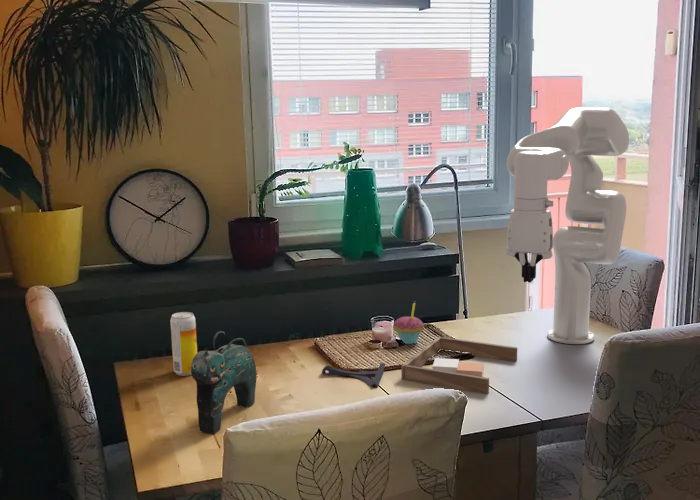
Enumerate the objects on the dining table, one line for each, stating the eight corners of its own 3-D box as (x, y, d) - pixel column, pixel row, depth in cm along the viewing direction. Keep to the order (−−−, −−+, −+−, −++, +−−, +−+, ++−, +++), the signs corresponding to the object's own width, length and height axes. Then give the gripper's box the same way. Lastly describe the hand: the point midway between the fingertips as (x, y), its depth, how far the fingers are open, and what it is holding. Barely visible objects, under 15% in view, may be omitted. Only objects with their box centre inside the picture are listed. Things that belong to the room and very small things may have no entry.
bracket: (328, 366, 194) (328, 356, 193) (385, 369, 191) (385, 358, 191) (316, 387, 180) (315, 376, 180) (377, 390, 177) (377, 379, 177)
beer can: (203, 369, 191) (199, 312, 188) (188, 378, 186) (184, 319, 183) (183, 366, 194) (180, 310, 191) (168, 374, 188) (164, 316, 185)
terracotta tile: (459, 373, 187) (459, 361, 186) (483, 374, 185) (483, 363, 185) (456, 381, 181) (456, 369, 181) (481, 383, 180) (482, 371, 179)
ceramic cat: (213, 439, 152) (208, 344, 148) (186, 433, 154) (180, 340, 150) (262, 402, 170) (259, 317, 166) (238, 398, 172) (234, 314, 168)
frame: (438, 348, 204) (438, 336, 203) (517, 360, 194) (517, 347, 193) (401, 379, 182) (401, 365, 182) (487, 394, 172) (487, 379, 172)
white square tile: (435, 369, 190) (435, 358, 189) (459, 370, 188) (459, 359, 188) (432, 377, 184) (432, 366, 183) (457, 379, 183) (457, 367, 182)
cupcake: (428, 339, 212) (429, 298, 210) (414, 348, 205) (415, 305, 203) (402, 335, 217) (402, 294, 214) (387, 343, 210) (387, 301, 207)
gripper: (566, 203, 175) (564, 280, 179) (503, 200, 182) (502, 274, 186) (558, 209, 169) (556, 288, 173) (494, 205, 176) (493, 281, 180)
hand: (528, 280), depth 179 cm, fingers closed
